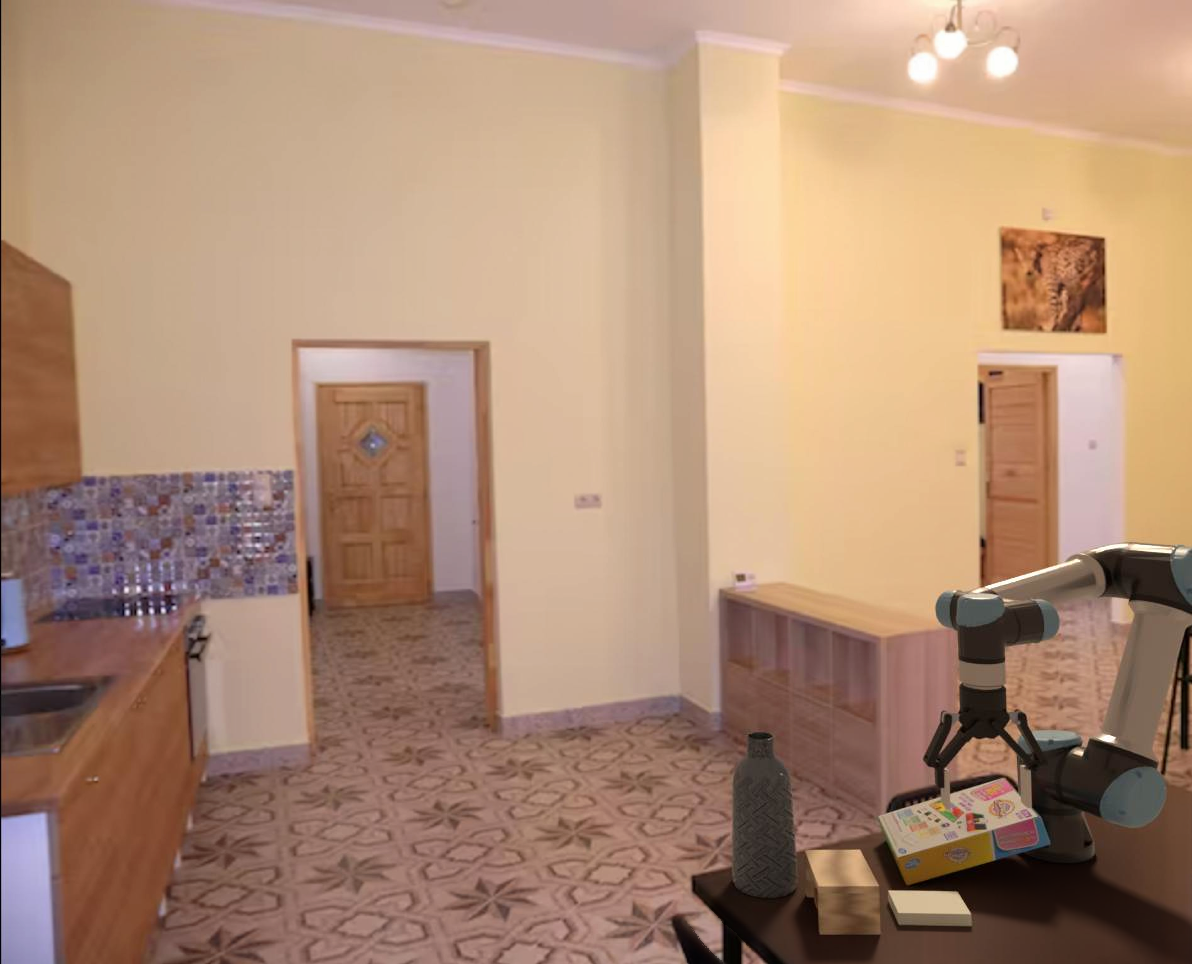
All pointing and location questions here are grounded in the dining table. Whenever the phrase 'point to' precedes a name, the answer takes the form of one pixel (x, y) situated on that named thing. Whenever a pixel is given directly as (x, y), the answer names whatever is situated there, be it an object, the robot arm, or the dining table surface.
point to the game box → (961, 831)
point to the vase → (763, 822)
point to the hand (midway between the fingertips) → (985, 805)
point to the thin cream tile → (929, 908)
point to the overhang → (843, 892)
